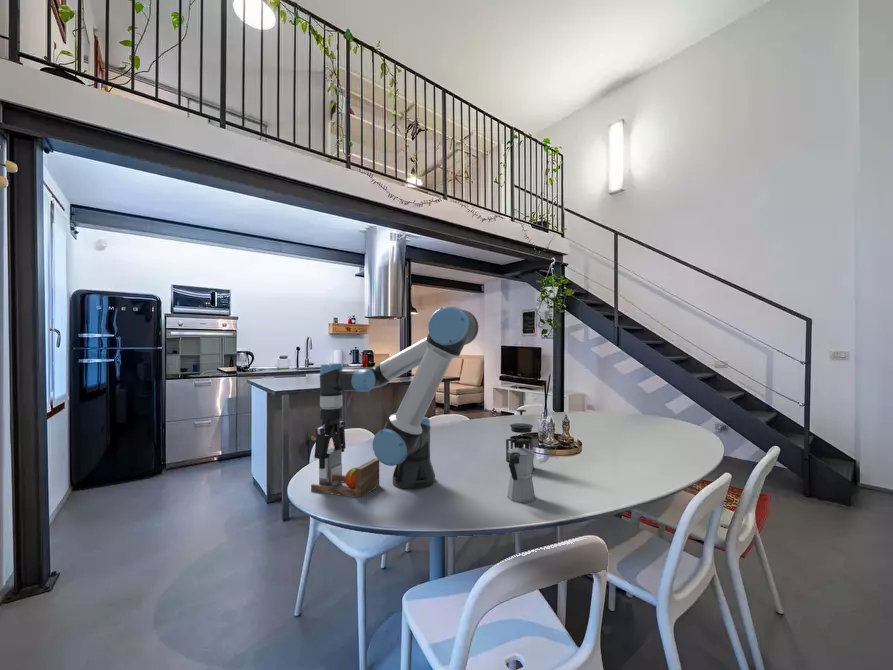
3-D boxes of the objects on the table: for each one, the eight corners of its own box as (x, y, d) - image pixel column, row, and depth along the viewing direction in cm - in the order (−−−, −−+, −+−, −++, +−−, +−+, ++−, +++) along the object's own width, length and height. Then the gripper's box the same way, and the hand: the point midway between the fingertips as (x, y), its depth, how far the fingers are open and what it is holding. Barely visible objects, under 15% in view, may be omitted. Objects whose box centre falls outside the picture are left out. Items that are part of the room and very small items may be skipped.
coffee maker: (515, 488, 129) (514, 434, 130) (540, 493, 124) (540, 437, 125) (497, 504, 116) (497, 444, 117) (525, 510, 111) (524, 447, 112)
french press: (528, 463, 157) (527, 407, 158) (540, 470, 148) (539, 410, 149) (501, 466, 154) (501, 408, 154) (512, 473, 145) (511, 412, 145)
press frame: (379, 485, 133) (379, 458, 133) (360, 497, 121) (361, 469, 122) (332, 479, 139) (332, 454, 139) (311, 491, 127) (311, 463, 128)
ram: (342, 483, 135) (343, 448, 135) (330, 490, 128) (330, 453, 128) (331, 481, 136) (331, 447, 137) (319, 488, 129) (319, 452, 130)
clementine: (359, 494, 124) (359, 472, 125) (339, 492, 126) (339, 471, 126) (369, 485, 132) (369, 465, 132) (350, 484, 134) (350, 464, 134)
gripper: (338, 403, 144) (338, 465, 143) (302, 411, 125) (302, 482, 124) (356, 404, 141) (355, 466, 140) (322, 412, 123) (321, 485, 122)
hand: (330, 474), depth 132 cm, fingers closed on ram, 7 cm apart
